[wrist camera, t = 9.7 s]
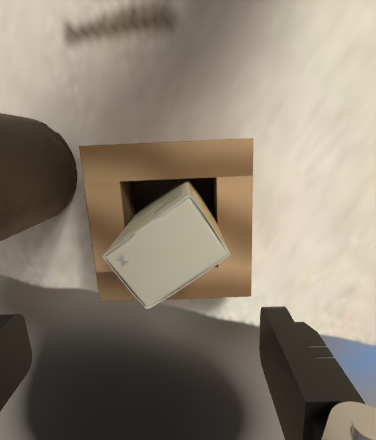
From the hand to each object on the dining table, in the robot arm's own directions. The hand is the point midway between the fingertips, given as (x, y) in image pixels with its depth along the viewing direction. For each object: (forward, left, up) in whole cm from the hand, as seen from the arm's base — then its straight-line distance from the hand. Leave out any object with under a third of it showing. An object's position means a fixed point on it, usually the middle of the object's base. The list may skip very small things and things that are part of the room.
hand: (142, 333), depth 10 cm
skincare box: (0, 0, -19) cm, 19 cm away
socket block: (0, 0, -19) cm, 19 cm away
